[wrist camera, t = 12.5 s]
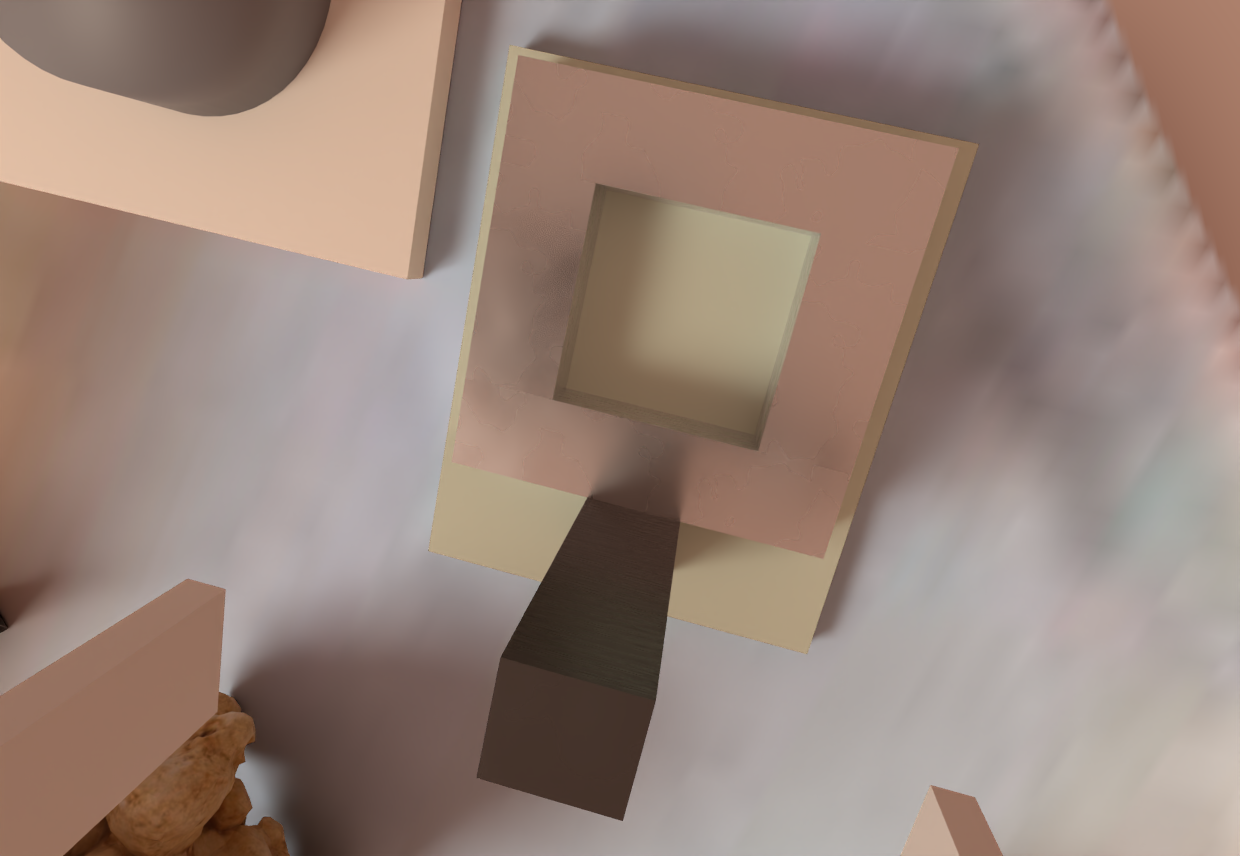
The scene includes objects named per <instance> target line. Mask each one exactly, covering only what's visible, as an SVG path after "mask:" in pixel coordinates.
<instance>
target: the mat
mask: <svg viewBox="0 0 1240 856" xmlns="http://www.w3.org/2000/svg"><path fill="white" fill-rule="evenodd" d="M518 55H520V56H525V57H530V58H534V59H539V60H544V61H549V62H553V63H558V64H563V65H568V66H572V67H577V68H582V69H586V70H591V71H596V72H601V73H605V74H610V75H615V76H620V77H624V78H629V79H634V80H638V81H643V82H648V83H653V84H657V85H662V86H667V87H672V88H676V89H681V90H686V91H691V92H695V93H700V94H705V95H709V96H714V97H719V98H724V99H728V100H733V101H738V102H743V103H747V104H752V105H757V106H761V107H766V108H771V109H776V110H780V111H785V112H790V113H795V114H799V115H804V116H809V117H813V118H818V119H823V120H828V121H832V122H837V123H842V124H847V125H851V126H856V127H861V128H865V129H870V130H875V131H880V132H884V133H889V134H894V135H899V136H903V137H908V138H913V139H918V140H922V141H927V142H932V143H936V144H941V145H946V146H951V147H955V148H959V150H958V153H957V156H956V159H955V162H954V165H953V168H952V171H951V174H950V177H949V180H948V183H947V186H946V189H945V192H944V195H943V198H942V201H941V204H940V207H939V210H938V213H937V216H936V219H935V222H934V225H933V229H932V232H931V235H930V238H929V241H928V244H927V247H926V250H925V253H924V256H923V259H922V262H921V265H920V268H919V271H918V274H917V277H916V280H915V283H914V286H913V289H912V292H911V295H910V298H909V301H908V304H907V307H906V310H905V313H904V316H903V319H902V322H901V326H900V329H899V332H898V335H897V338H896V341H895V344H894V347H893V350H892V353H891V356H890V359H889V362H888V365H887V368H886V371H885V374H884V377H883V380H882V383H881V386H880V389H879V392H878V395H877V398H876V401H875V404H874V407H873V410H872V413H871V416H870V419H869V423H868V426H867V429H866V432H865V435H864V438H863V441H862V444H861V447H860V450H859V453H858V456H857V459H856V462H855V465H854V468H853V471H852V474H851V477H850V480H849V483H848V486H847V489H846V492H845V495H844V498H843V501H842V504H841V507H840V510H839V513H838V516H837V520H836V523H835V526H834V529H833V532H832V535H831V538H830V541H829V544H828V547H827V550H826V553H825V556H824V559H821V558H818V557H814V556H810V555H806V554H802V553H798V552H795V551H791V550H787V549H783V548H779V547H775V546H772V545H768V544H764V543H760V542H756V541H752V540H748V539H745V538H741V537H737V536H733V535H729V534H725V533H722V532H718V531H714V530H710V529H706V528H702V527H699V526H695V525H691V524H687V523H683V522H680V527H679V535H678V542H677V549H676V556H675V564H674V571H673V578H672V585H671V593H670V600H669V607H668V615H667V616H669V617H672V618H676V619H680V620H683V621H687V622H691V623H695V624H698V625H702V626H706V627H709V628H713V629H717V630H720V631H724V632H728V633H731V634H735V635H739V636H742V637H746V638H750V639H753V640H757V641H761V642H764V643H768V644H772V645H775V646H779V647H783V648H786V649H790V650H794V651H797V652H801V653H805V654H807V653H808V650H809V647H810V644H811V641H812V638H813V635H814V632H815V629H816V626H817V623H818V620H819V617H820V614H821V611H822V608H823V605H824V602H825V599H826V596H827V593H828V590H829V588H830V585H831V582H832V579H833V576H834V573H835V570H836V567H837V564H838V561H839V558H840V555H841V552H842V549H843V546H844V543H845V540H846V537H847V534H848V531H849V528H850V525H851V522H852V519H853V516H854V513H855V510H856V507H857V505H858V502H859V499H860V496H861V493H862V490H863V487H864V484H865V481H866V478H867V475H868V472H869V469H870V466H871V463H872V460H873V457H874V454H875V451H876V448H877V445H878V442H879V439H880V436H881V433H882V430H883V427H884V424H885V422H886V419H887V416H888V413H889V410H890V407H891V404H892V401H893V398H894V395H895V392H896V389H897V386H898V383H899V380H900V377H901V374H902V371H903V368H904V365H905V362H906V359H907V356H908V353H909V350H910V347H911V344H912V341H913V339H914V336H915V333H916V330H917V327H918V324H919V321H920V318H921V315H922V312H923V309H924V306H925V303H926V300H927V297H928V294H929V291H930V288H931V285H932V282H933V279H934V276H935V273H936V270H937V267H938V264H939V261H940V258H941V256H942V253H943V250H944V247H945V244H946V241H947V238H948V235H949V232H950V229H951V226H952V223H953V220H954V217H955V214H956V211H957V208H958V205H959V202H960V199H961V196H962V193H963V190H964V187H965V184H966V181H967V178H968V175H969V173H970V170H971V167H972V164H973V161H974V158H975V155H976V152H977V149H978V146H979V144H976V143H971V142H967V141H962V140H957V139H952V138H948V137H943V136H938V135H933V134H929V133H924V132H919V131H914V130H910V129H905V128H900V127H896V126H891V125H886V124H881V123H877V122H872V121H867V120H862V119H858V118H853V117H848V116H843V115H839V114H834V113H829V112H825V111H820V110H815V109H810V108H806V107H801V106H796V105H791V104H787V103H782V102H777V101H772V100H768V99H763V98H758V97H754V96H749V95H744V94H739V93H735V92H730V91H725V90H720V89H716V88H711V87H706V86H701V85H697V84H692V83H687V82H682V81H678V80H673V79H668V78H664V77H659V76H654V75H649V74H645V73H640V72H635V71H630V70H626V69H621V68H616V67H611V66H607V65H602V64H597V63H593V62H588V61H583V60H578V59H574V58H569V57H564V56H559V55H555V54H550V53H545V52H540V51H536V50H531V49H526V48H522V47H517V46H512V45H510V46H509V53H508V59H507V65H506V71H505V77H504V84H503V90H502V96H501V102H500V109H499V115H498V121H497V127H496V133H495V140H494V146H493V152H492V158H491V164H490V171H489V177H488V183H487V189H486V196H485V202H484V208H483V214H482V220H481V227H480V233H479V239H478V245H477V252H476V258H475V264H474V270H473V276H472V283H471V289H470V295H469V301H468V307H467V314H466V320H465V326H464V332H463V339H462V345H461V351H460V357H459V363H458V370H457V376H456V382H455V388H454V395H453V401H452V407H451V413H450V419H449V426H448V432H447V438H446V444H445V450H444V457H443V463H442V469H441V475H440V482H439V488H438V494H437V500H436V506H435V513H434V519H433V525H432V531H431V538H430V544H429V550H428V551H430V552H434V553H438V554H441V555H445V556H449V557H452V558H456V559H460V560H463V561H467V562H471V563H474V564H478V565H482V566H485V567H489V568H493V569H496V570H500V571H504V572H507V573H511V574H515V575H518V576H522V577H526V578H529V579H533V580H537V581H540V582H542V580H543V578H544V577H545V575H546V573H547V571H548V569H549V567H550V565H551V564H552V562H553V560H554V558H555V556H556V554H557V553H558V551H559V549H560V547H561V545H562V543H563V541H564V540H565V538H566V536H567V534H568V532H569V530H570V529H571V527H572V525H573V523H574V521H575V519H576V517H577V516H578V514H579V512H580V510H581V508H582V506H583V505H584V503H585V501H586V499H587V497H584V496H580V495H576V494H572V493H568V492H564V491H560V490H557V489H553V488H549V487H545V486H541V485H537V484H534V483H530V482H526V481H522V480H518V479H514V478H511V477H507V476H503V475H499V474H495V473H491V472H488V471H484V470H480V469H476V468H472V467H468V466H465V465H461V464H457V463H453V462H452V456H453V450H454V444H455V438H456V432H457V426H458V420H459V413H460V407H461V401H462V395H463V389H464V383H465V377H466V371H467V365H468V359H469V352H470V346H471V340H472V334H473V328H474V322H475V316H476V310H477V304H478V298H479V291H480V285H481V279H482V273H483V267H484V261H485V255H486V249H487V243H488V236H489V230H490V224H491V218H492V212H493V206H494V200H495V194H496V188H497V182H498V175H499V169H500V163H501V157H502V151H503V145H504V139H505V133H506V127H507V120H508V114H509V108H510V102H511V96H512V90H513V84H514V78H515V72H516V66H517V59H518ZM810 239H811V236H809V235H805V234H800V233H796V232H791V231H787V230H782V229H778V228H773V227H769V226H765V225H760V224H756V223H751V222H747V221H742V220H738V219H733V218H729V217H725V216H720V215H716V214H711V213H707V212H702V211H698V210H693V209H689V208H684V207H680V206H676V205H671V204H667V203H662V202H658V201H653V200H649V199H644V198H640V197H636V196H631V195H627V194H622V193H618V192H613V191H609V190H607V191H606V196H605V201H604V206H603V210H602V215H601V220H600V225H599V230H598V235H597V240H596V245H595V250H594V254H593V259H592V264H591V269H590V274H589V279H588V284H587V289H586V294H585V298H584V303H583V308H582V313H581V318H580V323H579V328H578V333H577V338H576V342H575V347H574V352H573V357H572V362H571V367H570V372H569V377H568V381H567V386H566V388H568V389H573V390H577V391H581V392H585V393H589V394H593V395H597V396H601V397H605V398H609V399H613V400H617V401H621V402H625V403H629V404H633V405H637V406H641V407H645V408H649V409H653V410H657V411H661V412H665V413H669V414H673V415H677V416H681V417H685V418H689V419H693V420H697V421H701V422H705V423H709V424H713V425H717V426H721V427H725V428H729V429H733V430H737V431H741V432H745V433H749V434H753V435H755V432H756V428H757V425H758V421H759V418H760V414H761V411H762V407H763V403H764V400H765V396H766V393H767V389H768V386H769V382H770V379H771V375H772V372H773V368H774V365H775V361H776V358H777V354H778V351H779V347H780V344H781V340H782V337H783V333H784V330H785V326H786V323H787V319H788V316H789V312H790V309H791V305H792V302H793V298H794V295H795V291H796V288H797V284H798V281H799V277H800V274H801V270H802V267H803V263H804V260H805V256H806V253H807V249H808V246H809V242H810Z"/></svg>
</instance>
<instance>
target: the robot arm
mask: <svg viewBox="0 0 1240 856" xmlns="http://www.w3.org/2000/svg"><path fill="white" fill-rule="evenodd" d="M225 591H226V589H223V588H219V587H215V586H212V585H208V584H205V583H201V582H197V581H194V580H190V579H186V580H185V581H183V582H182V583H180V584H178V585H177V586H175V587H174V588H172V589H170V590H169V591H167V592H166V593H164V594H162V595H161V596H159V597H158V598H156V599H154V600H153V601H151V602H150V603H148V604H146V605H145V606H143V607H142V608H140V609H138V610H137V611H135V612H134V613H132V614H130V615H129V616H127V617H126V618H124V619H122V620H121V621H119V622H118V623H116V624H115V625H113V626H111V627H110V628H108V629H107V630H105V631H103V632H102V633H100V634H99V635H97V636H95V637H94V638H92V639H91V640H89V641H87V642H86V643H84V644H83V645H81V646H79V647H78V648H76V649H75V650H73V651H71V652H70V653H68V654H67V655H65V656H63V657H62V658H60V659H59V660H57V661H55V662H54V663H52V664H51V665H49V666H48V667H46V668H44V669H43V670H41V671H40V672H38V673H36V674H35V675H33V676H32V677H30V678H28V679H27V680H25V681H24V682H22V683H20V684H19V685H17V686H16V687H14V688H12V689H11V690H9V691H8V692H6V693H4V694H3V695H1V696H0V856H63V855H64V854H65V853H66V852H68V851H69V850H70V849H71V848H72V847H73V846H74V845H75V844H76V843H77V842H78V841H79V840H80V839H81V838H83V837H84V836H85V835H86V834H87V833H88V832H89V831H90V830H91V829H92V828H93V827H94V826H95V825H96V824H98V823H99V822H100V821H101V820H102V819H103V818H104V817H105V816H106V815H107V814H108V813H109V812H110V811H111V810H113V809H114V808H115V807H116V806H117V805H118V804H119V803H120V802H121V801H122V800H123V799H124V798H125V797H126V796H128V795H129V794H130V793H131V792H132V791H133V790H134V789H135V788H136V787H137V786H138V785H139V784H140V783H141V782H143V781H144V780H145V779H146V778H147V777H148V776H149V775H150V774H151V773H152V772H153V771H154V770H155V769H157V768H158V767H159V766H160V765H161V764H162V763H163V762H164V761H165V760H166V759H167V758H168V757H169V756H170V755H172V754H173V753H174V752H175V751H176V750H177V749H178V748H179V747H180V746H181V745H182V744H183V743H184V742H185V741H187V740H188V739H189V738H190V737H191V736H192V735H193V734H194V733H195V732H196V731H197V730H198V729H199V728H200V727H202V726H203V725H204V724H205V723H206V722H207V721H208V720H209V719H210V718H211V717H212V716H213V715H214V714H215V713H217V711H218V696H219V681H220V666H221V651H222V636H223V621H224V606H225ZM901 856H1003V855H1002V853H1001V851H1000V849H999V847H998V844H997V842H996V840H995V838H994V836H993V834H992V832H991V830H990V828H989V826H988V824H987V821H986V819H985V817H984V815H983V813H982V811H981V809H980V807H979V805H978V803H977V801H976V798H975V797H972V796H968V795H964V794H961V793H957V792H954V791H950V790H946V789H943V788H939V787H936V786H932V785H930V788H929V790H928V792H927V795H926V797H925V799H924V802H923V804H922V806H921V809H920V811H919V813H918V816H917V818H916V820H915V823H914V825H913V828H912V830H911V832H910V835H909V837H908V839H907V842H906V844H905V846H904V849H903V851H902V853H901Z"/></svg>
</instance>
